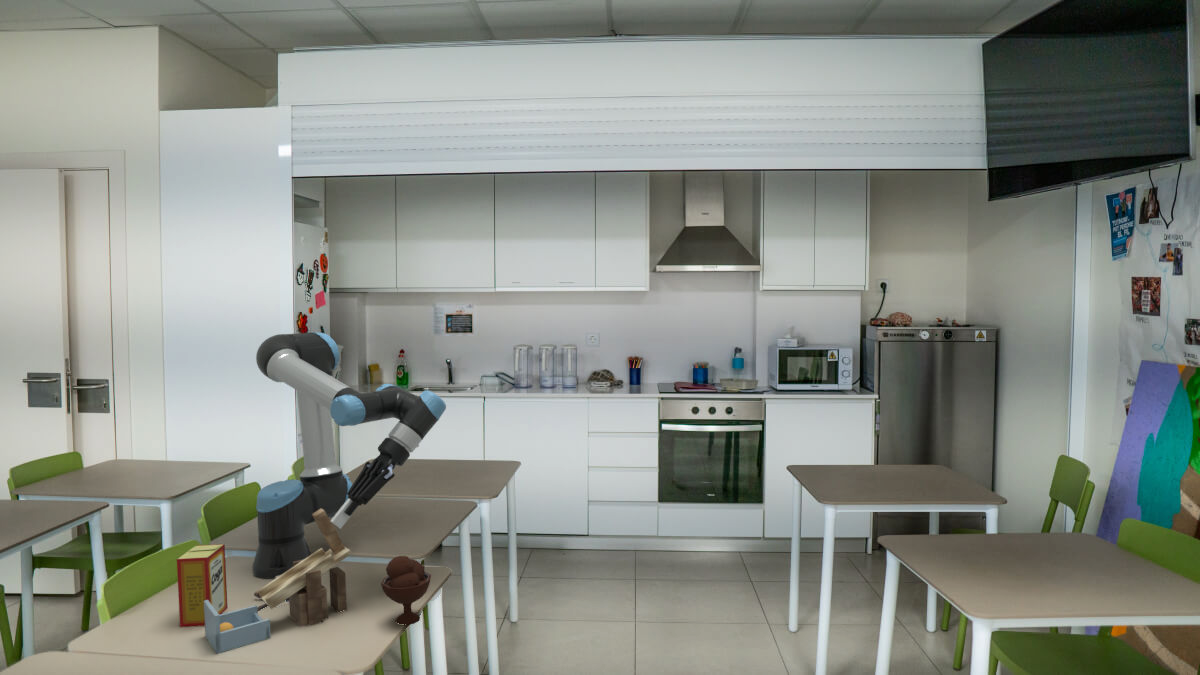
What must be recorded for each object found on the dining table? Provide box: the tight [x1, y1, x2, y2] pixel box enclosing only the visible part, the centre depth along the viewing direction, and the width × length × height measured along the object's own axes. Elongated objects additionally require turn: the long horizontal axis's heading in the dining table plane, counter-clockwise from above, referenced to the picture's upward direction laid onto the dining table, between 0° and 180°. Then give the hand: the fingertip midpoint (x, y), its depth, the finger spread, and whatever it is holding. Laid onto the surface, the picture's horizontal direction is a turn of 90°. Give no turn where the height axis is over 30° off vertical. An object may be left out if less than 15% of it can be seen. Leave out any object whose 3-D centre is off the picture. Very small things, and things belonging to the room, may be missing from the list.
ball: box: [220, 622, 234, 632], centre depth 156 cm, size 4×4×4 cm
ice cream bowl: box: [380, 555, 432, 626], centre depth 165 cm, size 11×11×15 cm
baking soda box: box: [176, 543, 228, 628], centre depth 168 cm, size 10×6×16 cm
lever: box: [256, 509, 352, 610], centre depth 166 cm, size 20×7×12 cm, turn 130°
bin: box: [204, 600, 271, 654], centre depth 158 cm, size 11×11×8 cm
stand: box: [288, 559, 348, 627], centre depth 169 cm, size 11×10×12 cm
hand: (335, 524), depth 171 cm, fingers closed
